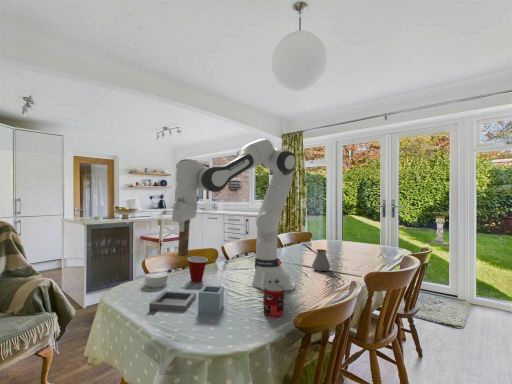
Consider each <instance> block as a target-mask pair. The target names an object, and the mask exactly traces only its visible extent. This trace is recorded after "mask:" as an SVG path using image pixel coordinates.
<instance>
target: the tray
mask: <svg viewBox="0 0 512 384" xmlns="http://www.w3.org/2000/svg"><path fill="white" fill-rule="evenodd" d="M196 298H197V292H192V291H191V292H189V291H174V290H163V292H162V293H161V292H160V294H159V295H158V296H157V297H155V298H154V299H153V300H152V301H150V303H149V309H148V310H149V312H159V311H160V310H161V311H162V310H163V311H165V310H166V311H179V312H185V311H186V310H187V309H188V308H189V307H190V305H191V304H192V303H193V302H194V301H195V300H196Z"/></svg>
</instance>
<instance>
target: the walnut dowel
mask: <svg viewBox="0 0 512 384" xmlns="http://www.w3.org/2000/svg"><path fill="white" fill-rule="evenodd" d="M189 224H191V220H190V221H185V223H184V227H185V231H184V232H180V231H178V245H177V246H178V247H177V250H178V251H177V255H178V256H179V257H187V256H188V255H189V244H190V243H189V240H190V225H189ZM178 229H179V230H180V227H178Z"/></svg>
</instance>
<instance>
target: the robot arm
mask: <svg viewBox="0 0 512 384" xmlns="http://www.w3.org/2000/svg"><path fill="white" fill-rule="evenodd" d="M235 154H236V155H235V159H234V160H231V161H230V162H228V163H226V164H225V165H222V166H212V167H207V166H205V165H204V164H202V163H200V161H198V160H197V158H196V159H195V158H187V159H181V160H179V161H178V162H177V166H176V171H175V182H176V186H175V190H174V201H175V202H174V203H173V206H172V207H173V208H172V217H171V218H172V222H174V223H175V222H176V223H178V226H179V227H180V230H179V231H180V232H184V231H185V227H184V223H185V221H190V222H191V220H192V219H194V218H196V216H197V212H198V211H197V209H198V203H199V200H200V199H199V198H200V197H199V196H198V189H199V190H201V191H209V192H212V193H217V192H219V193H220V192H221V191H223V190H224V189H225V188H226V187H227V185H229V183H230V182H231V180H233V179H234V178H235V177H237V176H239V175H241V174H242V173H244V172H246V171H248V170H251V169H254V168H256V167H259V166H262V167H263V168H266V169H269V170H271V171H272V176H271V179H270V181H269V185H268V187H267V190H266V192H265V196H264V199H263V200H262V203H261V206H260V208H259V210H258V213H257V217H256V220H255V224H256V228H257V230H256V231H257V232H256V241H255V243H256V244H255V257H254V275H253V278H252V282H251V285H252V286H253V287H255V288H258V289H260V290H262V291H264V286H265V285H267V284H279V285H282V286H284V291H293V290H294V289H295V288H296V283H295V282H294V281H293V280H292V279H291V275H290V272H289V271H288V270H286V269H285V268H284V267H283V266H282V260H281V259H280V258H278V256H277V255H278V232H279V231H278V230H279V221H280V219H281V215H282V213H283V210H284V207H285V203H286V201H287V198H288V196H289V192H290V190H291V186H292V183H293V178H294V169H295V167H296V163H297V158H296V155H295V154H294V153H293V152H292V151H290V150H285V149H282V148H277V147H275V148H274V144H273V143H272V141H270V140H269V139H266V138H261V139H258V140H254V141H252V142H250V143H248V144H246V145H244V146H243V147H241V148H240V149H239V150H237V151H236V153H235ZM190 224H191V223H190ZM190 224H189V226H190ZM179 227H178V228H179ZM179 231H178V232H179Z"/></svg>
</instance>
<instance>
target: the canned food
mask: <svg viewBox="0 0 512 384" xmlns="http://www.w3.org/2000/svg"><path fill="white" fill-rule="evenodd" d="M284 301H285V290H284V286H282V285H279V284H267V285H265V286H264V290H263V314H264V315H265V316H266V315H267V316H266V317H268V316H270V317H269V318H272V317H277V318H280V317H279V316H281V315H282V316H283V314H284V305H285V303H284ZM282 316H281V317H282Z"/></svg>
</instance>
